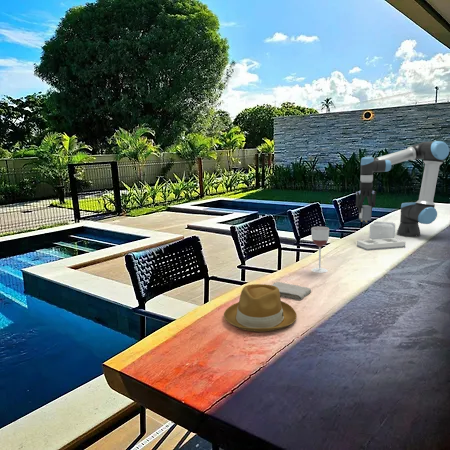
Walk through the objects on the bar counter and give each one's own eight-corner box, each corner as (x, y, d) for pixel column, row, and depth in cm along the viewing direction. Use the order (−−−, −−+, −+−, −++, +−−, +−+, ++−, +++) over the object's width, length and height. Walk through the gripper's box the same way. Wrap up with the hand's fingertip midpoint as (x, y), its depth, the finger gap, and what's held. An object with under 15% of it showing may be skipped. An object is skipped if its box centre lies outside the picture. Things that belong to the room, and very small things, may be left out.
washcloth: (275, 286, 184) (275, 279, 183) (312, 293, 174) (312, 286, 173) (262, 294, 174) (262, 287, 174) (301, 301, 164) (301, 294, 164)
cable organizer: (396, 239, 268) (396, 222, 266) (392, 242, 260) (392, 225, 258) (373, 237, 277) (373, 220, 275) (368, 240, 269) (369, 223, 267)
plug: (366, 220, 262) (366, 205, 260) (370, 222, 256) (371, 206, 254) (358, 221, 261) (359, 205, 259) (363, 222, 255) (364, 206, 253)
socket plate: (393, 243, 258) (393, 236, 257) (405, 247, 247) (405, 240, 246) (356, 246, 253) (356, 239, 253) (366, 250, 242) (367, 243, 241)
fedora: (212, 329, 140) (211, 297, 138) (238, 300, 167) (238, 273, 165) (287, 340, 131) (287, 306, 129) (302, 308, 157) (303, 279, 155)
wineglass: (329, 268, 208) (329, 226, 204) (327, 273, 199) (328, 230, 195) (312, 267, 211) (312, 226, 207) (309, 272, 202) (310, 229, 198)
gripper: (376, 180, 259) (374, 216, 263) (350, 181, 256) (349, 217, 260) (382, 181, 252) (381, 217, 256) (356, 182, 248) (354, 219, 253)
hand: (365, 217), depth 258 cm, fingers closed on plug, 5 cm apart
